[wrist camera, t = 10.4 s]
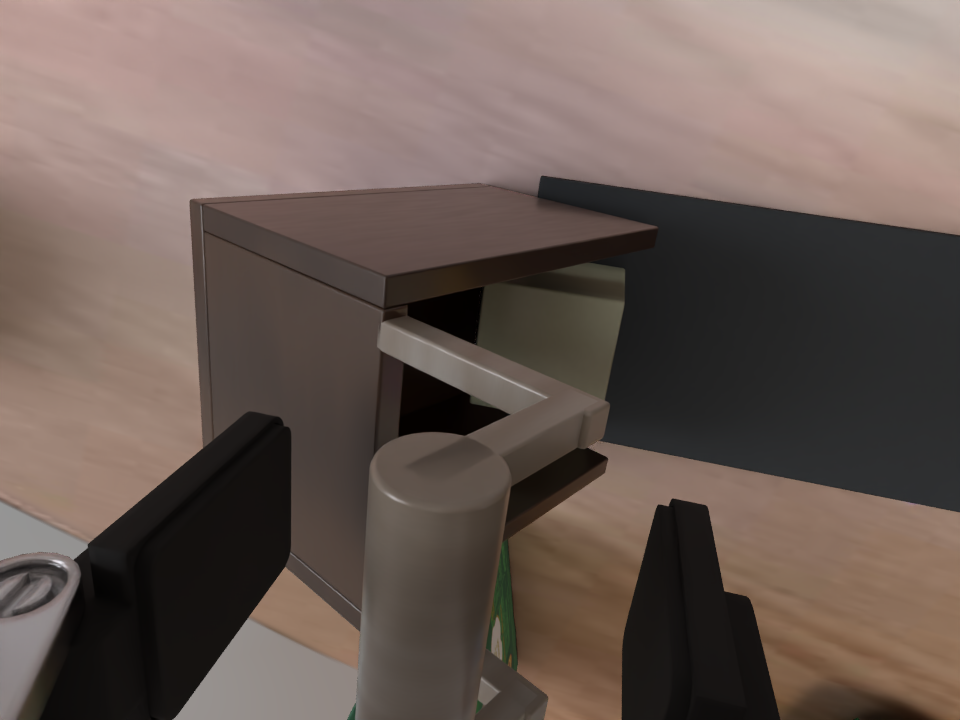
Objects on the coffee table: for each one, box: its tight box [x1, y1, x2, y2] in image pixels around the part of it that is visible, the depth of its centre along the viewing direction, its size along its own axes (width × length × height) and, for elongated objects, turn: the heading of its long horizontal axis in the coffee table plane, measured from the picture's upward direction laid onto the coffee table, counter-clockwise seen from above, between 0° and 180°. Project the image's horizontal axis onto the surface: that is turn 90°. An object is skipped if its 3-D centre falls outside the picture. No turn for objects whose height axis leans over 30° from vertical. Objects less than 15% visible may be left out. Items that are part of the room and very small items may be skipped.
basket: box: [190, 183, 658, 720], centre depth 16 cm, size 8×13×11 cm
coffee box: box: [347, 540, 518, 720], centre depth 22 cm, size 8×3×13 cm, turn 5°
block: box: [469, 263, 625, 409], centre depth 21 cm, size 4×4×4 cm
